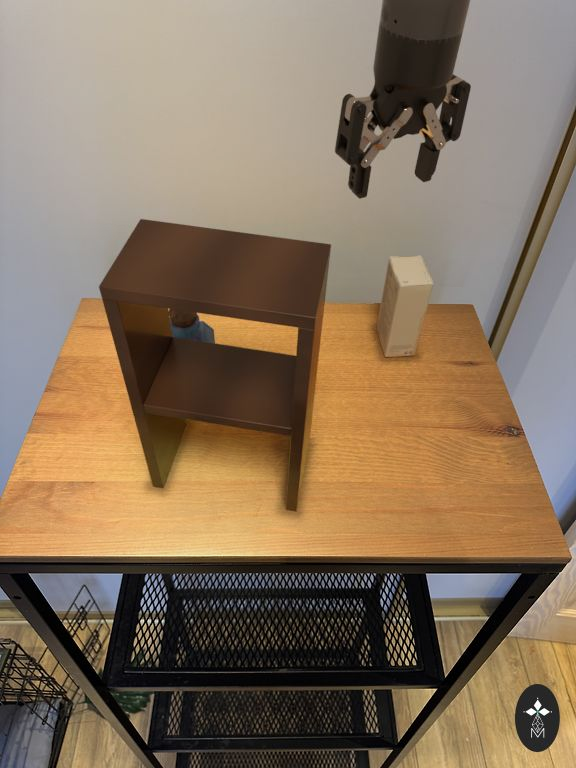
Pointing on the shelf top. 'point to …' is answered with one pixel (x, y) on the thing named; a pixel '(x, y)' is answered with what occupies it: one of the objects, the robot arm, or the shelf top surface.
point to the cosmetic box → (403, 305)
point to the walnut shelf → (210, 360)
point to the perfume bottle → (190, 326)
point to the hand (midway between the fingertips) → (391, 186)
